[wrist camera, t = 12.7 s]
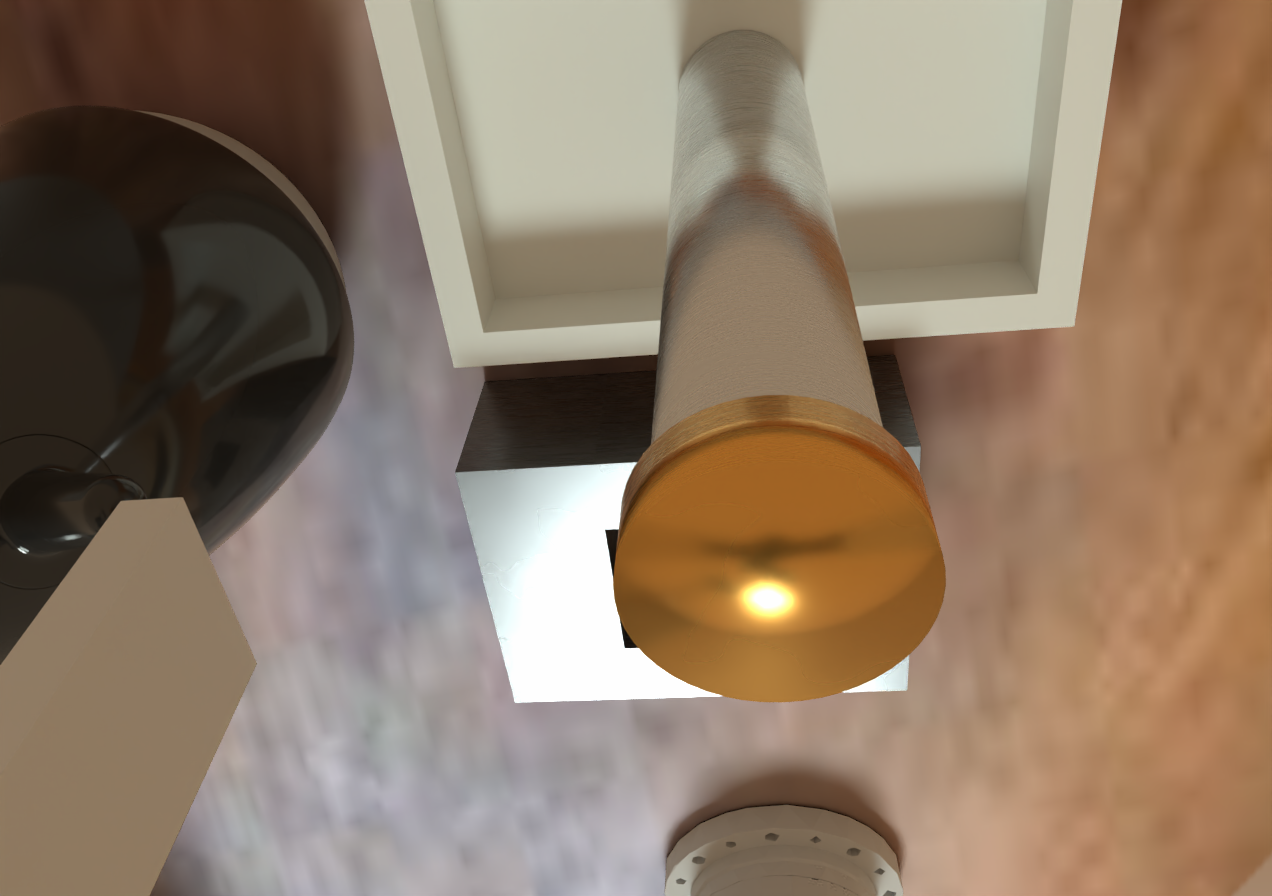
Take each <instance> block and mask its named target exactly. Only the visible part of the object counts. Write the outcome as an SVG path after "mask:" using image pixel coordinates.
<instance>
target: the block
mask: <svg viewBox="0 0 1272 896" xmlns="http://www.w3.org/2000/svg"><path fill="white" fill-rule="evenodd" d="M867 361H868V365H869V370H870V374H871V378H872V382H873V387H874V391H875V395H876V400H877V404H878V408H879V413H880V417H881V421H882V426H883V428H884V429H886V430H887V431H888V432H889V433H890V434H891V435H892V436H893V437H895V438H896V439H897V440H898V441H899V442H900V444H901V445H902V446H903V447H904V448H905V450H906V451H907V452H908V453H909V455H910V456H911V458H912V460H913V461H914V463H915V465H916V466H917V468H918V470H919V471H920V453H921V445H920V442H919V438H918V435H917V431H916V427H915V424H914V420H913V417H912V413H911V410H910V406H909V403H908V399H907V396H906V392H905V389H904V385H903V382H902V378H901V375H900V371H899V367H898V364H897V360H896V357H895V355H889V356H873V357H867ZM656 374H657V371H644V372H629V373H614V374H598V375H583V376H568V377H553V378H537V379H522V380H507V381H492V382H485V383H484V386H483V389H482V392H481V395H480V398H479V401H478V404H477V407H476V410H475V413H474V416H473V419H472V422H471V426H470V429H469V432H468V435H467V438H466V441H465V444H464V447H463V450H462V453H461V456H460V459H459V462H458V465H457V468H456V471H455V474H456V478H457V481H458V485H459V489H460V493H461V497H462V501H463V504H464V508H465V512H466V516H467V520H468V524H469V527H470V531H471V535H472V539H473V543H474V547H475V550H476V554H477V558H478V562H479V566H480V570H481V573H482V577H483V581H484V585H485V589H486V592H487V596H488V600H489V604H490V608H491V612H492V615H493V619H494V623H495V627H496V631H497V635H498V638H499V642H500V646H501V650H502V654H503V658H504V661H505V665H506V669H507V673H508V677H509V681H510V684H511V688H512V692H513V696H514V700H515V702H547V701H579V700H611V699H643V698H675V697H707V696H721V695H717V694H714V693H710V692H707V691H704V690H701V689H699V688H696V687H694V686H691V685H689V684H687V683H685V682H683V681H681V680H679V679H677V678H675V677H673V676H672V675H670V674H669V673H667V672H666V671H664V670H663V669H661V668H660V667H658V666H657V665H656V664H655V663H653V662H652V661H651V660H650V659H649V658H648V657H646V656H645V655H644V654H643V653H642V651H641V650H640V649H639V648H638V647H637V646H636V645H635V644H634V642H633V641H632V639H631V638H630V636H629V635H628V633H627V632H626V630H625V629H624V626H623V624H622V622H621V620H620V618H619V615H618V612H617V608H616V605H615V601H614V591H613V578H614V568H615V559H616V549H617V540H618V531H619V521H620V512H621V503H622V497H623V493H624V489H625V486H626V483H627V481H628V478H629V476H630V474H631V472H632V470H633V468H634V466H635V465H636V463H637V462H638V460H639V459H640V457H641V456H642V454H643V453H644V452H645V451H646V450H647V449H648V448H649V447H650V445H651V438H652V425H653V412H654V399H655V386H656ZM908 666H909V655H908V656H907V657H906V658H905V659H904V660H902V661H901V662H900V663H898V664H897V665H896V666H895V667H893V668H892V669H890V670H889V671H887V672H885V673H884V674H882V675H880V676H879V677H877V678H875V679H873V680H871V681H869V682H867V683H865V684H862V685H860V686H858V687H855V688H852V689H850V690H847V691H844V692H867V691H899V690H907V684H908Z"/></svg>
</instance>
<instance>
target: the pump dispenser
mask: <svg viewBox="0 0 1272 896" xmlns="http://www.w3.org/2000/svg"><path fill="white" fill-rule="evenodd" d="M353 355H354V330H353V321H352V315H351V309H350V305H349V301H348V297H347V294H346V288H345V282H344V277H343V273H342V270H341V266H340V263H339V260H338V257H337V254H336V252H335V249H334V246H333V244H332V242H331V240H330V238H329V236H328V234H327V232H326V229H325V228H324V226H323V224H322V223H321V221H320V219H319V218H318V216H317V214H316V213H315V211H314V210H313V209H312V207H311V206H310V204H309V203H308V202H307V200H306V199H305V198H304V197H303V195H302V194H301V193H300V192H299V191H298V190H297V188H296V187H295V186H294V185H293V184H292V183H291V182H290V181H289V180H288V179H287V178H286V177H285V176H284V175H283V174H282V173H281V172H280V171H279V170H278V169H276V168H275V167H274V166H273V165H272V164H271V163H269V162H268V161H267V160H265V159H264V158H263V157H261V156H260V155H259V154H257V153H256V152H255V151H253V150H251V149H250V148H248V147H247V146H245V145H243V144H242V143H240V142H239V141H237V140H235V139H233V138H231V137H229V136H227V135H225V134H223V133H221V132H219V131H217V130H214V129H212V128H209V127H207V126H205V125H202V124H199V123H196V122H193V121H190V120H187V119H183V118H179V117H175V116H170V115H166V114H161V113H154V112H147V111H137V110H128V109H122V108H115V107H106V106H69V107H59V108H53V109H48V110H43V111H39V112H35V113H32V114H29V115H26V116H23V117H20V118H18V119H15V120H13V121H11V122H9V123H7V124H5V125H3V126H1V127H0V665H1V664H2V662H3V661H4V660H5V658H6V657H7V656H8V654H9V653H10V652H11V650H12V649H13V647H14V646H15V645H16V643H17V642H18V641H19V639H20V638H21V636H22V635H23V634H24V632H25V631H26V630H27V628H28V627H29V626H30V624H31V623H32V621H33V620H34V619H35V617H36V616H37V615H38V613H39V612H40V611H41V609H42V608H43V606H44V605H45V604H46V602H47V601H48V600H49V598H50V597H51V595H52V594H53V593H54V591H55V590H56V589H57V587H58V586H59V585H60V583H61V582H62V580H63V579H64V578H65V576H66V575H67V574H68V572H69V571H70V570H71V568H72V567H73V565H74V564H75V563H76V561H77V560H78V559H79V557H80V556H81V554H82V553H83V552H84V550H85V549H86V548H87V546H88V545H89V544H90V542H91V541H92V539H93V538H94V537H95V535H96V534H97V533H98V531H99V530H100V529H101V527H102V526H103V524H104V523H105V522H106V520H107V519H108V518H109V516H110V515H111V513H112V512H113V511H114V509H115V508H116V507H117V505H118V504H119V503H120V501H129V500H145V499H161V498H177V497H183V499H184V501H185V503H186V506H187V508H188V510H189V512H190V515H191V517H192V519H193V521H194V524H195V526H196V528H197V530H198V532H199V535H200V537H201V539H202V541H203V544H204V546H205V548H206V550H207V553H208V555H209V556H210V555H211V554H212V553H213V552H214V551H215V550H217V549H218V548H219V547H220V546H221V545H222V544H224V543H225V542H226V541H227V540H228V539H229V538H230V537H231V536H233V535H234V534H235V533H236V532H237V531H238V530H239V529H240V528H241V527H242V526H243V525H244V524H245V523H247V522H248V521H249V520H250V519H251V518H252V517H253V516H254V515H255V514H256V513H257V512H258V511H259V510H260V509H261V508H262V507H263V506H264V504H265V503H266V502H267V501H268V500H269V499H270V498H271V497H272V496H273V495H274V494H275V493H276V491H277V490H278V489H279V488H280V487H281V486H282V485H283V484H284V482H285V481H286V480H287V479H288V478H289V477H290V476H291V474H292V473H293V472H294V471H295V470H296V469H297V467H298V466H299V465H300V464H301V463H302V461H303V460H304V459H305V458H306V457H307V455H308V454H309V453H310V451H311V450H312V449H313V448H314V446H315V445H316V444H317V442H318V441H319V439H320V438H321V436H322V435H323V433H324V432H325V430H326V429H327V427H328V425H329V424H330V422H331V420H332V418H333V417H334V415H335V413H336V411H337V409H338V407H339V405H340V403H341V401H342V399H343V396H344V394H345V391H346V388H347V385H348V382H349V378H350V374H351V370H352V364H353Z"/></svg>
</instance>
